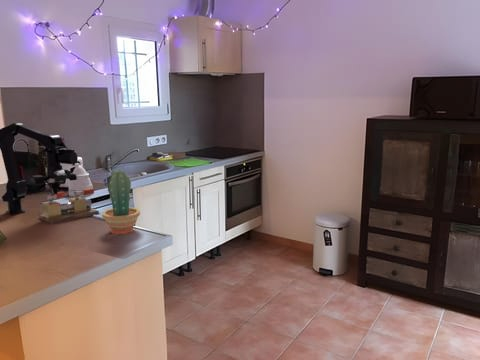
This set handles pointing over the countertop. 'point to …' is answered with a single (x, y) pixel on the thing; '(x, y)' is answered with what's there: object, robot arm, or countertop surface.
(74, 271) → the countertop surface
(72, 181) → the honey pot
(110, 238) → the countertop surface
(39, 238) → the countertop surface
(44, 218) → the beige flat board
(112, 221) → the potted cactus
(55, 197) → the valve lever
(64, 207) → the pipe manifold
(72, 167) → the milk container
